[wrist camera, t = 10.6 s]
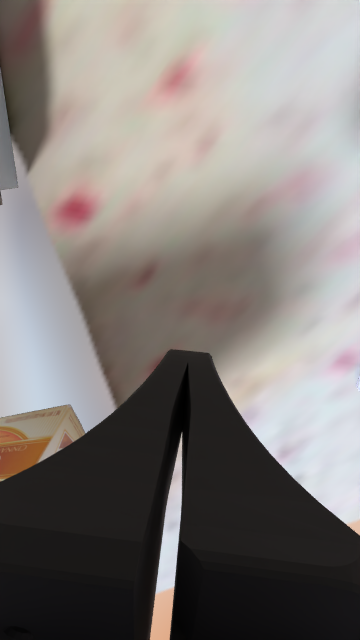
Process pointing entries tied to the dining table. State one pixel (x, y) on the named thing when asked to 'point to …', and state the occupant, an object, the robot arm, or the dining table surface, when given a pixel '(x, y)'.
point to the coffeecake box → (35, 437)
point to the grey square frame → (5, 148)
